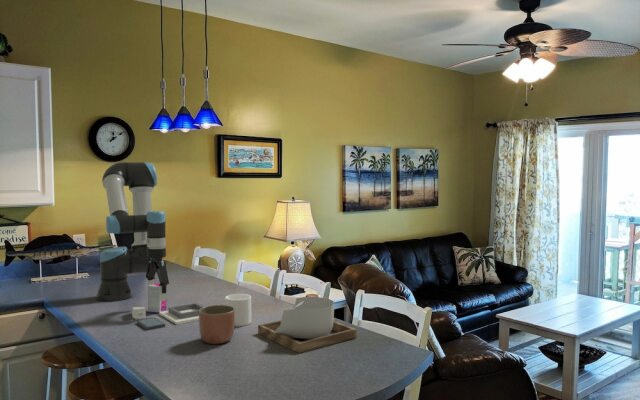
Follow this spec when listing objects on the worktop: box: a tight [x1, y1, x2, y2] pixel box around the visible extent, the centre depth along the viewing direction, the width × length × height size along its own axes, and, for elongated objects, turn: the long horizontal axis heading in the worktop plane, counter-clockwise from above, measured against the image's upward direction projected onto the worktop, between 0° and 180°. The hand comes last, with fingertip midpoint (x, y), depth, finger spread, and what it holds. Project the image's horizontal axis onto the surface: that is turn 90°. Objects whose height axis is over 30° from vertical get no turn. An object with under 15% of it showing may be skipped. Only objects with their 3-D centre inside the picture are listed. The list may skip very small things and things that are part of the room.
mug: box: [224, 293, 252, 328], centre depth 195 cm, size 13×10×10 cm
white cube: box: [131, 305, 147, 320], centre depth 201 cm, size 5×4×4 cm
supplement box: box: [146, 282, 167, 314], centre depth 210 cm, size 6×6×12 cm
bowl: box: [275, 296, 335, 340], centre depth 179 cm, size 20×19×12 cm
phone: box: [136, 317, 166, 331], centre depth 191 cm, size 11×7×1 cm, turn 39°
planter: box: [198, 304, 235, 345], centre depth 173 cm, size 12×12×11 cm
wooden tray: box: [257, 320, 358, 354], centre depth 179 cm, size 25×25×3 cm
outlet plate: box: [158, 302, 205, 325], centre depth 204 cm, size 18×18×3 cm
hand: (157, 298), depth 209 cm, fingers open, 13 cm apart
